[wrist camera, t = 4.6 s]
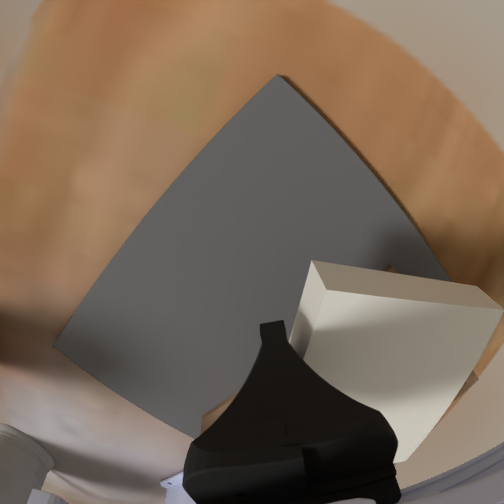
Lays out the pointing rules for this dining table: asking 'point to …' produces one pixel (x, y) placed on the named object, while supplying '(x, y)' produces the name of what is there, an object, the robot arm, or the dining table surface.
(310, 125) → the desk mat
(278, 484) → the robot arm
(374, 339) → the lid
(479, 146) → the dining table surface
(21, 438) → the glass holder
